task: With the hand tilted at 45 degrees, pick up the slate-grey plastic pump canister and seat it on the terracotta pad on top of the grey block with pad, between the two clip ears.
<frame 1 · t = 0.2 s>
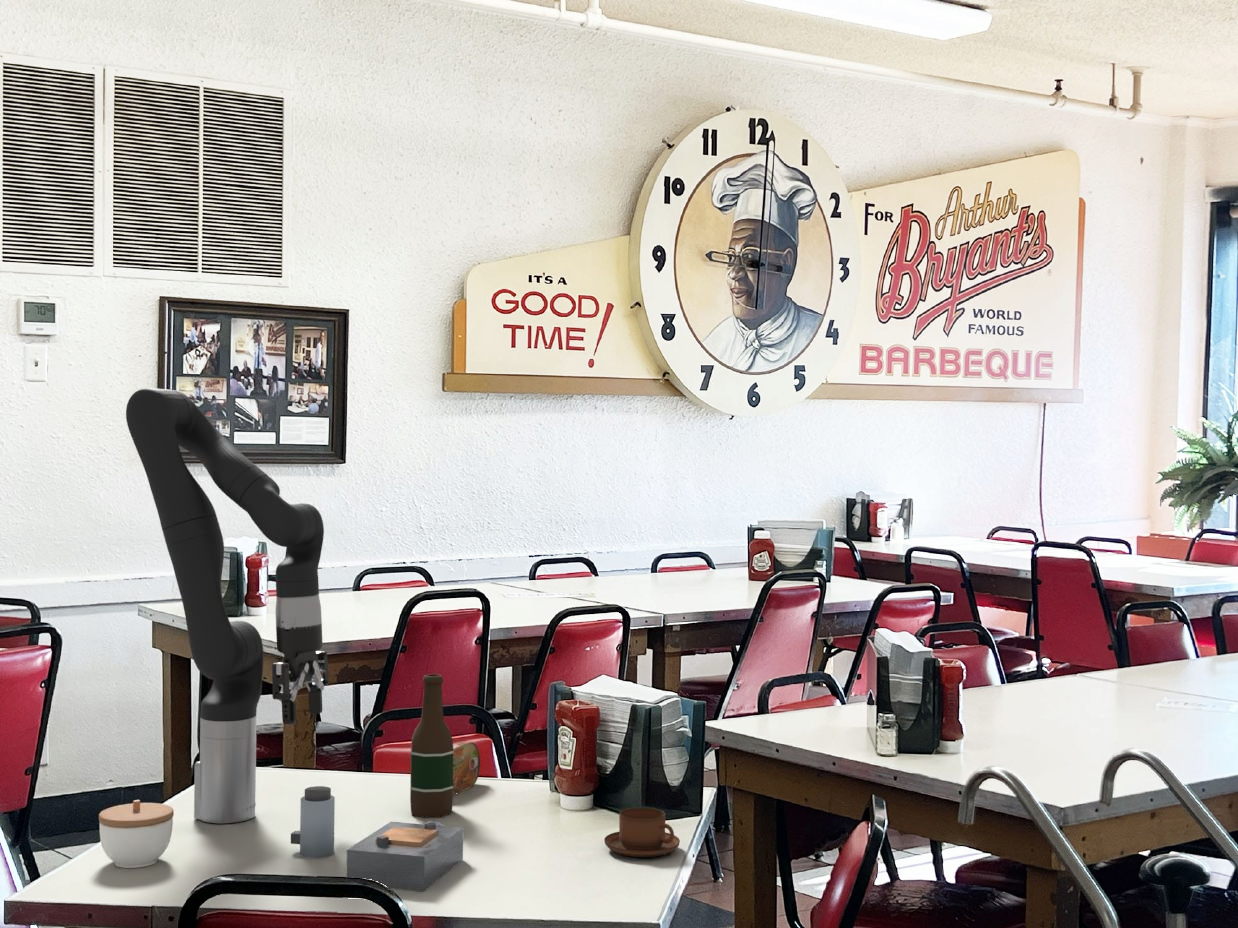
hand: (302, 718, 232), 18 cm above the table, tool pointing down, fingers open, 8 cm apart
cup and saucer: (641, 853, 219), on the table
lidded jar: (135, 863, 209), on the table
beer bottle: (431, 813, 240), on the table
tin: (455, 791, 256), on the table
grey block with pad: (406, 871, 206), on the table
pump: (316, 853, 215), on the table
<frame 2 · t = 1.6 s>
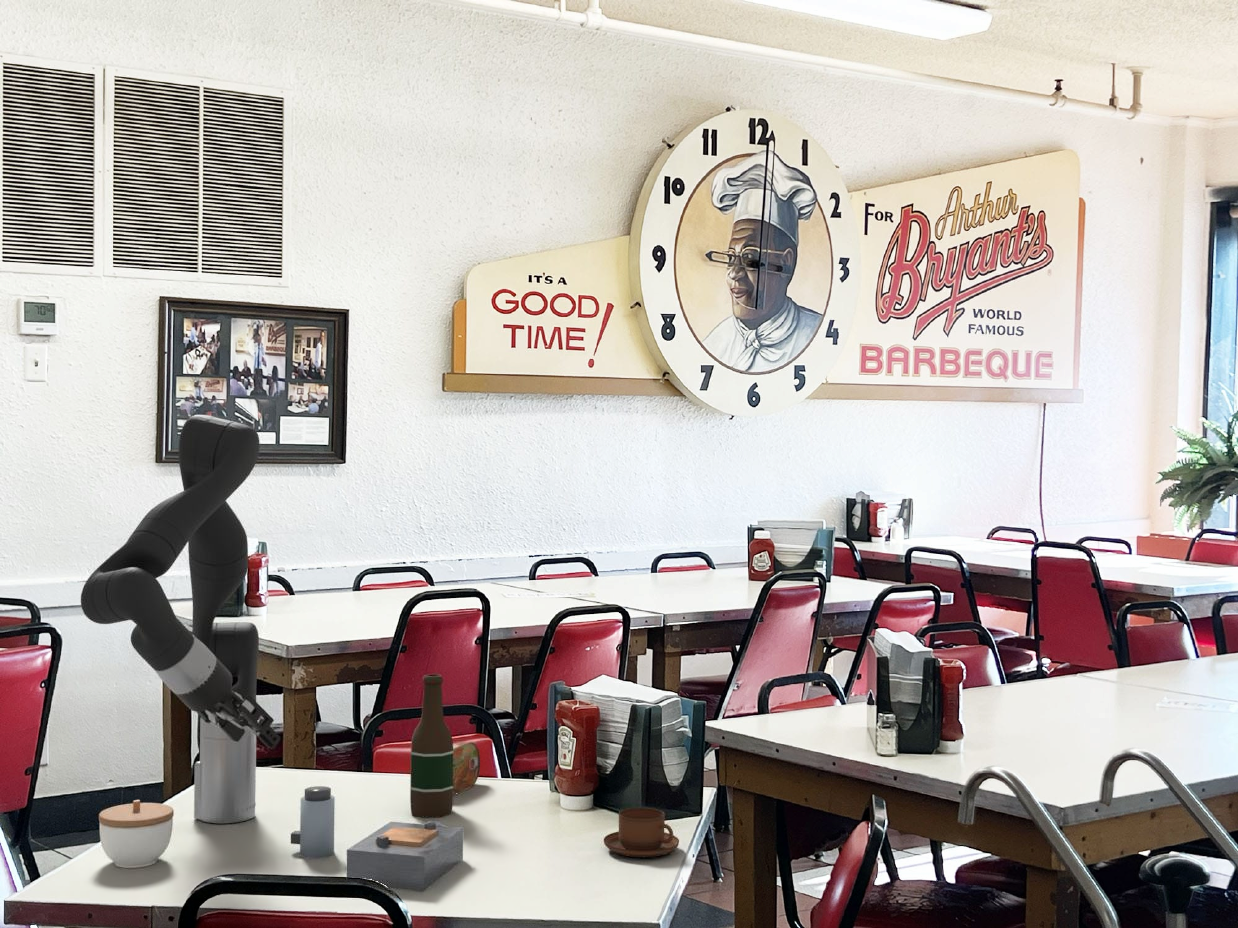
hand: (257, 740, 205), 19 cm above the table, tool tilted 45°, fingers open, 8 cm apart
nothing on the table moved.
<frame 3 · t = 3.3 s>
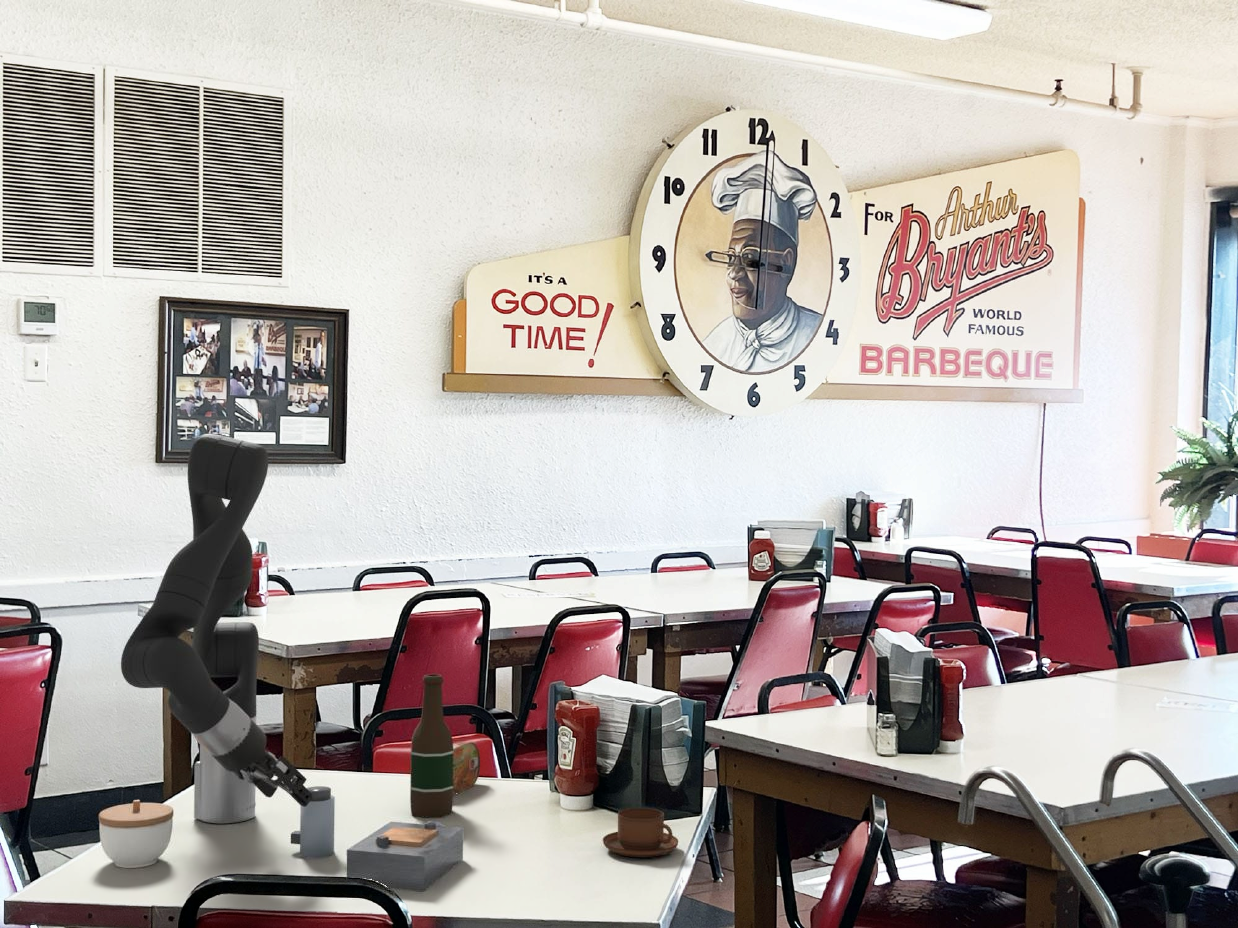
hand: (290, 796, 211), 10 cm above the table, tool tilted 45°, fingers open, 8 cm apart
nothing on the table moved.
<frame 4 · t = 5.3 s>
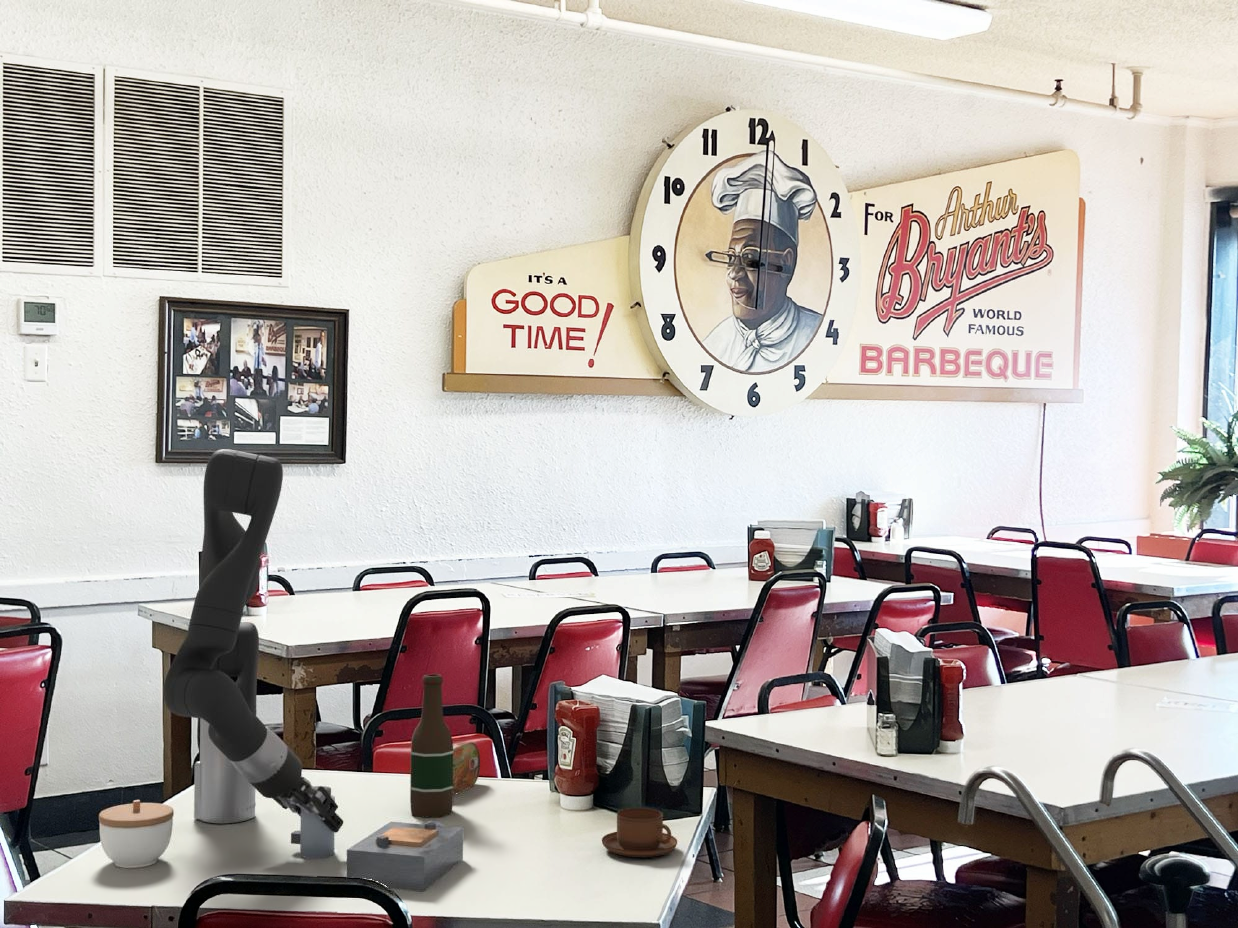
hand: (326, 823, 216), 4 cm above the table, tool tilted 45°, fingers closed on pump, 5 cm apart
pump: (317, 852, 215), on the table, touching gripper
everything else where it was.
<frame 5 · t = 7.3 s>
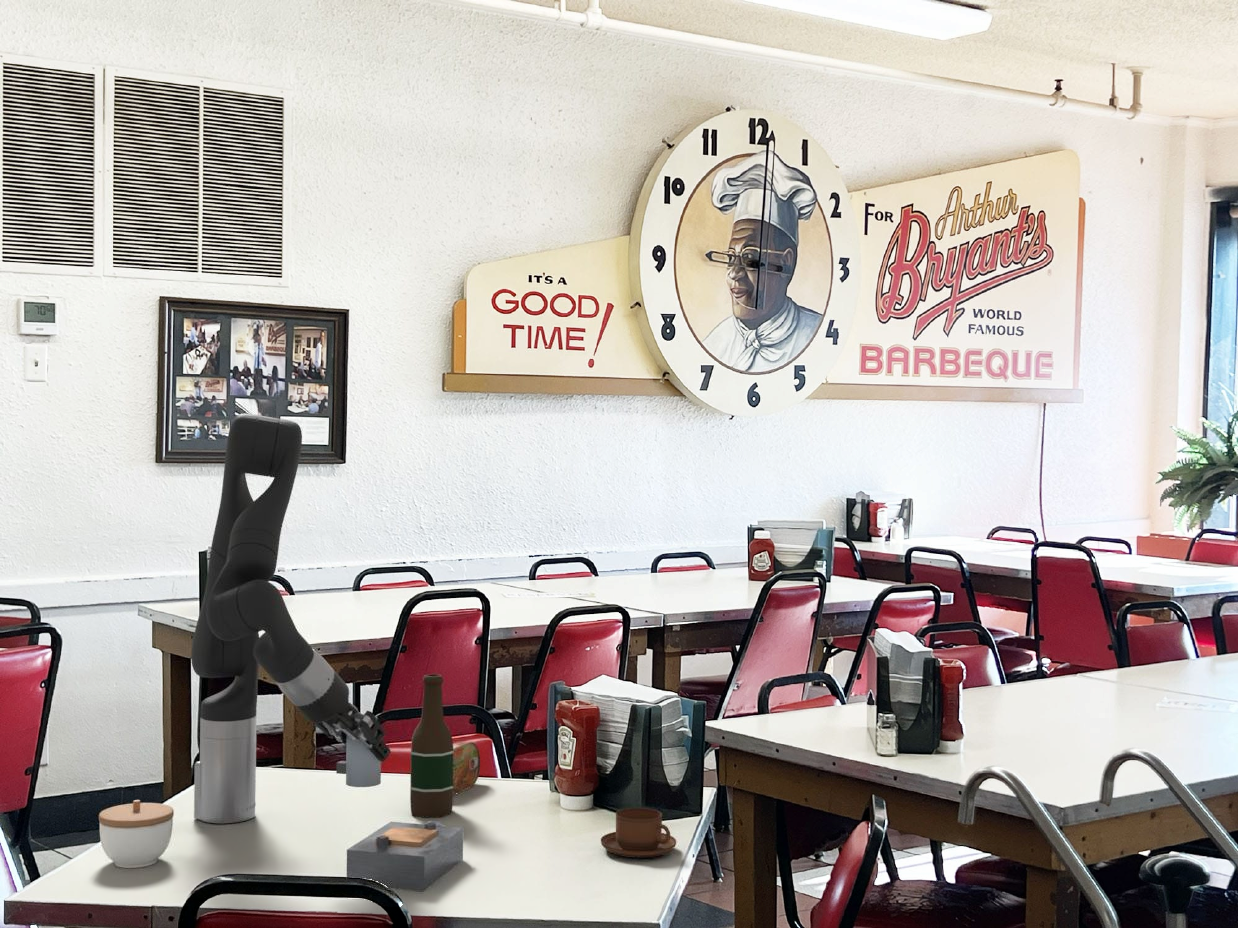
hand: (373, 753, 210), 17 cm above the table, tool tilted 45°, fingers closed on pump, 5 cm apart
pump: (363, 783, 209), point 12 cm above the table, touching gripper
everything else where it was.
when the fingers open (11 cm above the table, at t = 9.3 s): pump stays where it is, resting on grey block with pad.
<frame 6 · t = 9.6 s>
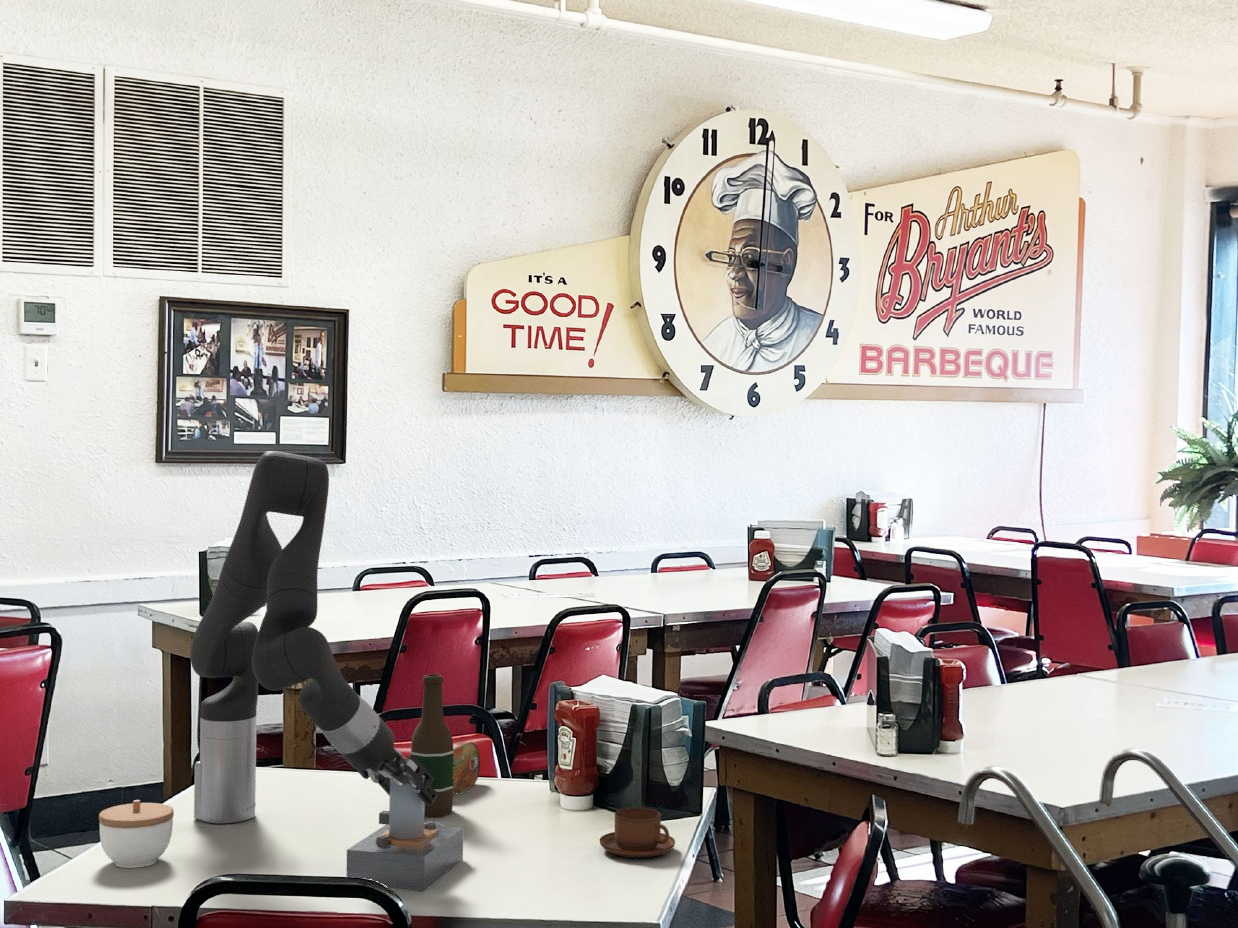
hand: (414, 795, 207), 11 cm above the table, tool tilted 45°, fingers open, 7 cm apart
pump: (406, 834, 206), point 6 cm above the table, touching grey block with pad
everything else where it was.
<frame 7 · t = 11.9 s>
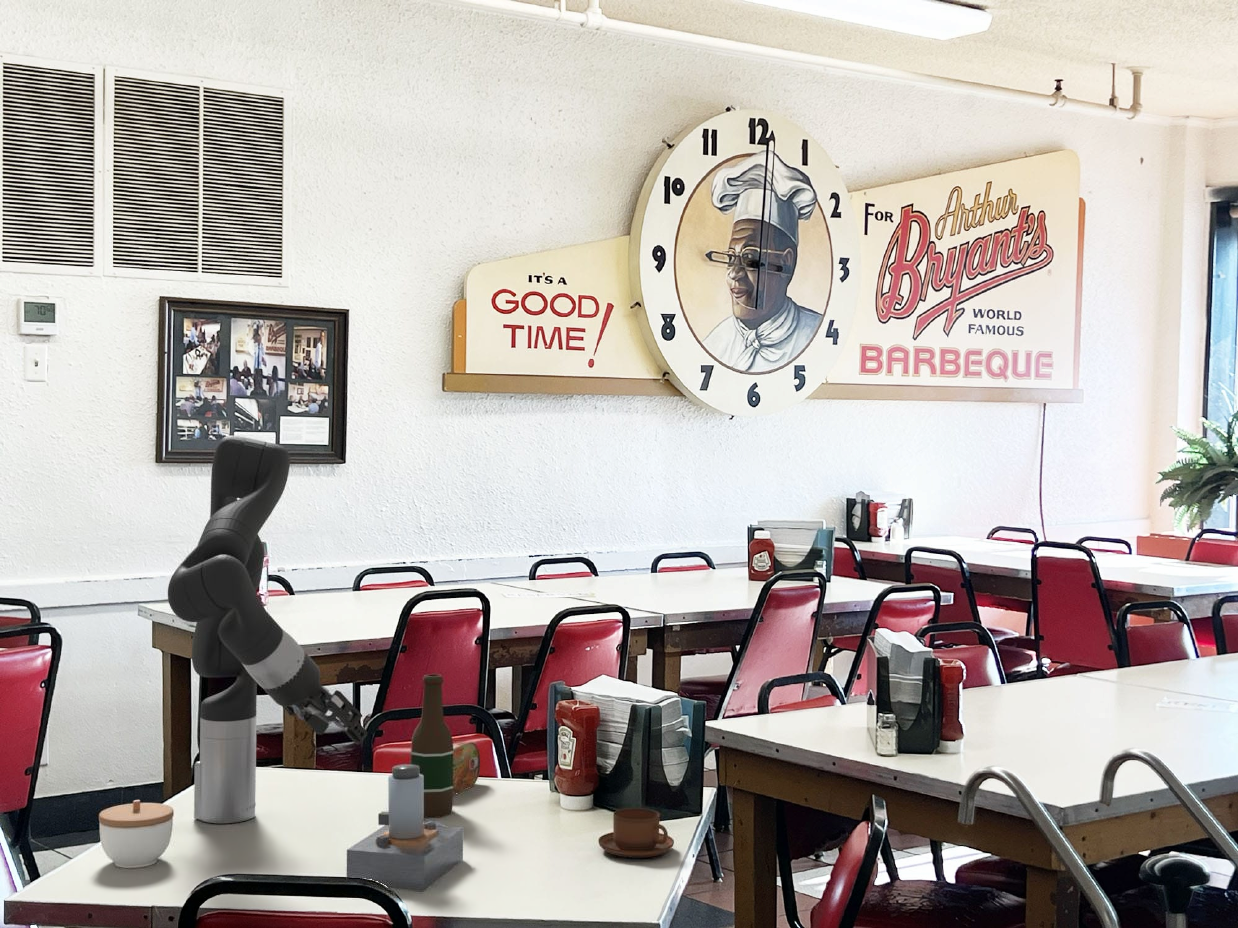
hand: (343, 734, 200), 22 cm above the table, tool tilted 45°, fingers open, 8 cm apart
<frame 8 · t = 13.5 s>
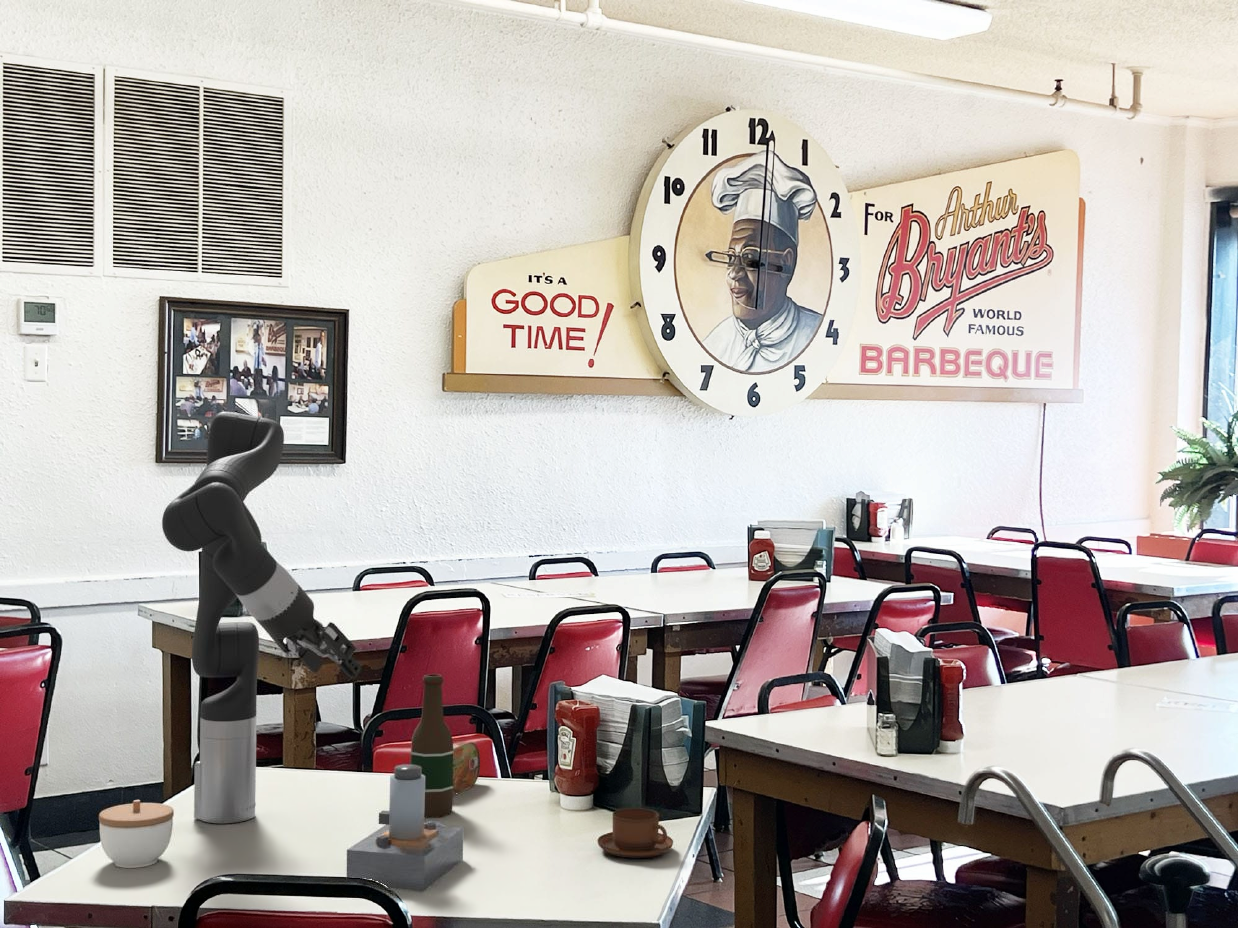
hand: (337, 670, 201), 31 cm above the table, tool tilted 45°, fingers open, 8 cm apart
at the end: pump 0.1 cm off-centre on the grey block with pad, point 5.7 cm above the grey block with pad's base; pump tilted 1°; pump touching grey block with pad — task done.
